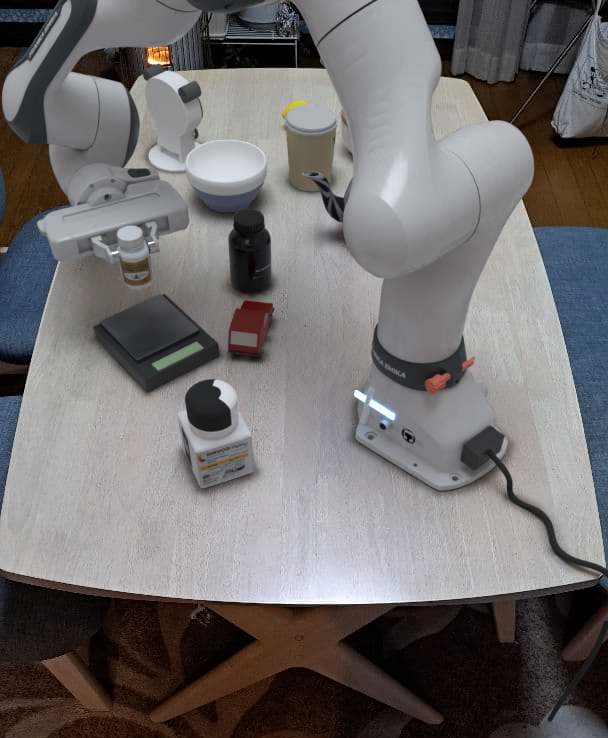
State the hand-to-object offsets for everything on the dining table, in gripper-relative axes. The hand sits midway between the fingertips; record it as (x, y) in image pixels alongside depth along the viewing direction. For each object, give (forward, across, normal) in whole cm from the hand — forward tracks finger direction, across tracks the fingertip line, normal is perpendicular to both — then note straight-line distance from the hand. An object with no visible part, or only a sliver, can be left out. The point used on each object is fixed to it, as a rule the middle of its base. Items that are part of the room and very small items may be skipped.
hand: (135, 254), depth 111 cm
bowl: (-32, +27, +17) cm, 45 cm away
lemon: (-49, +50, +17) cm, 72 cm away
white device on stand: (-50, +24, +17) cm, 58 cm away
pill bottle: (-1, 0, +5) cm, 5 cm away
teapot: (-10, +48, +17) cm, 51 cm away
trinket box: (-35, +58, +17) cm, 70 cm away
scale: (0, +1, +17) cm, 17 cm away
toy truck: (+4, +15, +17) cm, 23 cm away
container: (+26, 0, +17) cm, 31 cm away
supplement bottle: (-8, +20, +17) cm, 28 cm away
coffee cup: (-31, +43, +17) cm, 56 cm away
